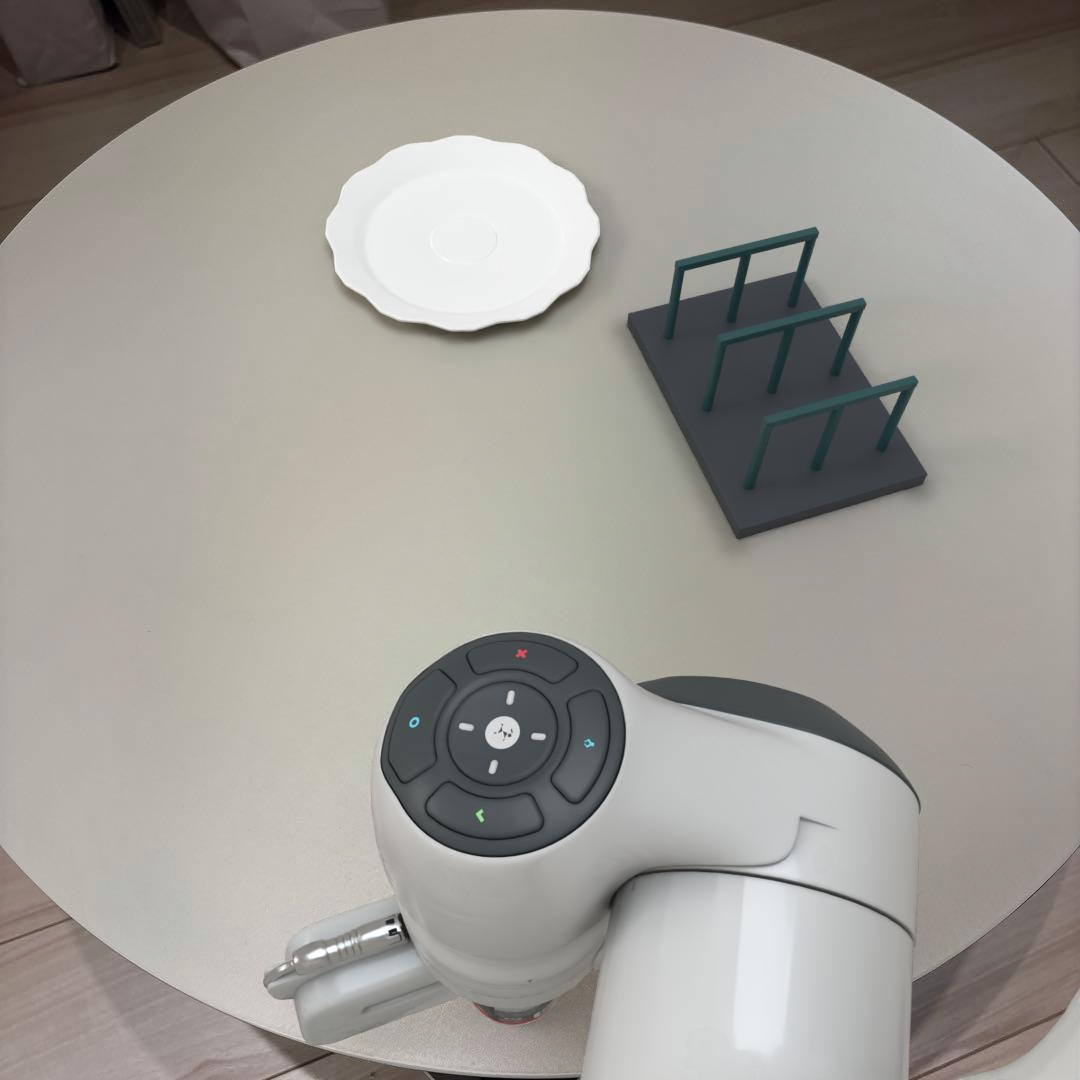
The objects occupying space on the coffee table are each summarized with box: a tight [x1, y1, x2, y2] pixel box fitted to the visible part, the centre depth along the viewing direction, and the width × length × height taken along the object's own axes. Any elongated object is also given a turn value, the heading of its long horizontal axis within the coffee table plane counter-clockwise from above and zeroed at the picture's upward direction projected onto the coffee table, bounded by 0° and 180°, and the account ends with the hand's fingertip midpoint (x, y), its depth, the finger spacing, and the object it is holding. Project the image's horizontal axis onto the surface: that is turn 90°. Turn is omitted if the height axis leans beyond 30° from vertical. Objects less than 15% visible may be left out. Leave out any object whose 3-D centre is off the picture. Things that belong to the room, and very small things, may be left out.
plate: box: [324, 134, 601, 332], centre depth 89 cm, size 21×21×2 cm
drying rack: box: [626, 226, 928, 539], centre depth 78 cm, size 20×14×8 cm
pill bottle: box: [470, 996, 560, 1027], centre depth 56 cm, size 5×5×10 cm
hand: (514, 959), depth 57 cm, fingers closed on pill bottle, 5 cm apart
